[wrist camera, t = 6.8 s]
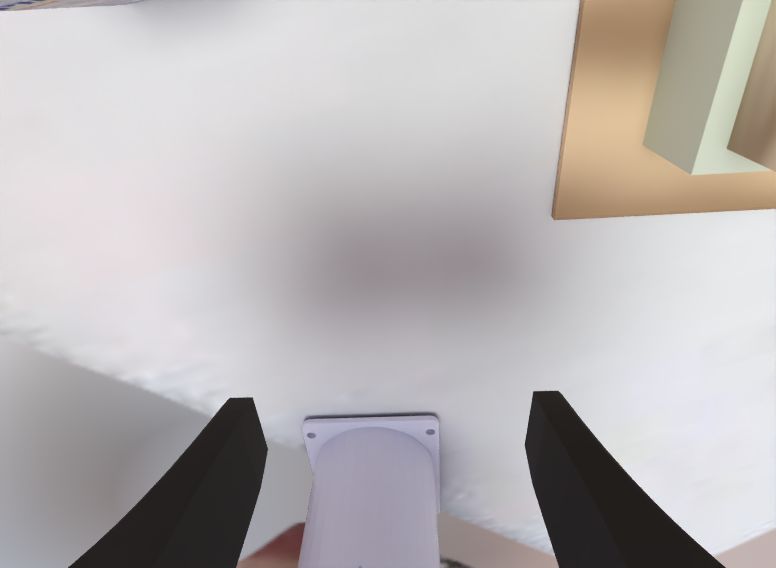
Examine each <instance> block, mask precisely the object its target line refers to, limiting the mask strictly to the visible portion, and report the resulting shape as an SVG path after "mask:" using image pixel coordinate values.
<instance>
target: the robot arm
mask: <svg viewBox="0 0 776 568" xmlns="http://www.w3.org/2000/svg"><path fill="white" fill-rule="evenodd" d="M428 429H432V430H428ZM302 433H303V437H304V441H305V445H306V449H307V453H308V457H309V461H310V465H311V469H312V473H313V476H314V478H313V484H312V490H311V495H310V501H309V507H308V513H307V518H306V523H305V529H304V535H303V540H302V546H301V552H300V557H299V563H298V568H441V567H440V553H439V540H438V527H437V514H439V513H440V461H439V421H438V419H437V418H436V417H435V416H398V417H365V418H332V419H308V420H305V421H304V422H303V424H302ZM525 449H526V454H527V459H528V464H529V469H530V474H531V479H532V483H533V487H534V490H535V494H536V497H537V500H538V503H539V506H540V509H541V513H542V516H543V519H544V522H545V525H546V528H547V531H548V534H549V537H550V541H551V544H552V547H553V550H554V553H555V556H556V559H557V562H558V565H559V568H725V567H724V566H723V565H722V564H721V563H720V562H718V561H717V560H716V559H715V558H714V557H713V556H712V555H711V554H709V553H708V552H707V551H706V550H705V549H704V548H703V547H701V546H700V545H699V544H698V543H697V542H696V541H695V540H694V539H693V538H691V537H690V536H689V535H688V534H687V533H686V532H685V531H684V530H683V529H682V528H681V527H680V526H679V525H678V524H676V523H675V522H674V521H673V520H672V519H671V518H670V517H669V516H668V515H667V514H666V513H665V512H664V511H663V510H662V509H661V508H660V507H659V506H658V505H657V504H656V503H655V502H654V501H653V500H652V499H651V498H650V497H649V496H648V495H647V494H646V493H645V492H644V491H643V490H642V488H641V487H640V486H639V485H638V484H637V483H636V482H635V481H634V480H633V479H632V478H631V477H630V476H629V475H628V474H627V472H626V471H625V470H624V469H623V468H622V467H621V466H620V465H619V463H618V462H617V461H616V460H615V459H614V458H613V457H612V455H611V454H610V453H609V452H608V451H607V450H606V449H605V448H604V446H603V445H602V444H601V443H600V442H599V440H598V439H597V438H596V437H595V436H594V434H593V433H592V432H591V431H590V429H589V428H588V427H587V426H586V425H585V423H584V422H583V421H582V420H581V418H580V417H579V416H578V415H577V413H576V412H575V411H574V409H573V408H572V407H571V406H570V404H569V403H568V402H567V400H566V399H565V398H564V396H563V395H562V394H561V393H560V392H559V391H534V392H533V398H532V404H531V410H530V416H529V422H528V428H527V434H526V440H525ZM267 451H268V448H267V444H266V441H265V438H264V434H263V431H262V427H261V424H260V421H259V417H258V414H257V410H256V407H255V404H254V400H253V397H252V398H229V399H228V400H227V401H226V402H225V404H224V405H223V406H222V407H221V408H220V410H219V411H218V412H217V413H216V415H215V416H214V417H213V418H212V419H211V421H210V422H209V423H208V424H207V426H206V427H205V428H204V429H203V430H202V432H201V433H200V434H199V435H198V437H197V438H196V439H195V440H194V441H193V442H192V444H191V445H190V446H189V447H188V448H187V449H186V451H185V452H184V453H183V454H182V455H181V456H180V457H179V459H178V460H177V461H176V462H175V463H174V464H173V466H172V467H171V468H170V469H169V470H168V471H167V472H166V473H165V475H164V476H163V477H162V478H161V479H160V480H159V481H158V482H157V483H156V485H154V486H153V487H152V488H151V489H150V491H149V492H148V493H147V494H146V495H145V496H144V497H143V498H142V499H141V500H140V501H139V502H138V503H137V504H136V505H135V506H134V507H133V508H132V509H131V510H130V511H129V512H128V513H127V514H126V515H125V517H123V518H122V519H121V520H120V521H119V522H118V524H116V525H115V526H114V527H113V528H112V529H111V530H110V531H109V532H108V533H107V534H105V535H104V536H103V537H102V538H101V539H100V540H99V541H98V542H97V543H96V544H95V545H94V546H92V547H91V548H90V549H89V550H88V551H87V552H86V553H84V554H83V555H82V556H81V557H80V558H79V559H78V560H76V561H75V563H73V564H72V565H71V566H69V567H68V568H236V566H237V563H238V559H239V556H240V553H241V550H242V547H243V544H244V540H245V537H246V534H247V531H248V528H249V524H250V521H251V518H252V515H253V511H254V508H255V505H256V502H257V498H258V495H259V492H260V488H261V483H262V479H263V473H264V468H265V463H266V457H267Z"/></svg>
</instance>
